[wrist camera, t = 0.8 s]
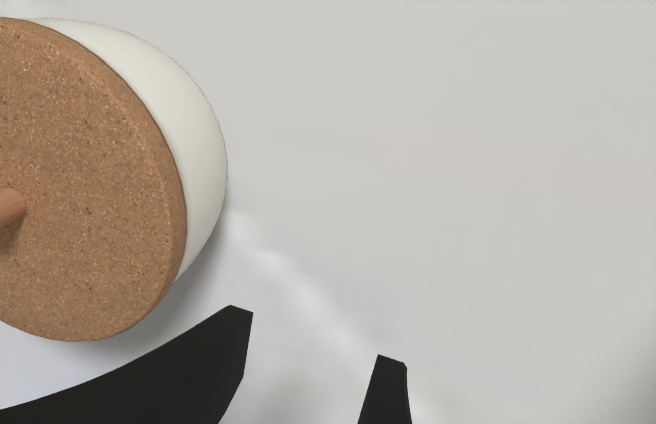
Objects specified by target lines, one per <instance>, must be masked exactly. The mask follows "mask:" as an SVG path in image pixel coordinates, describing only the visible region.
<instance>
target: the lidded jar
mask: <svg viewBox="0 0 656 424" xmlns="http://www.w3.org/2000/svg"><path fill="white" fill-rule="evenodd" d="M227 179H228V160H227V153H226V146H225V141H224V137H223V134H222V130H221V127H220V124H219V121H218V119H217V117H216V115H215V112H214V110H213V108H212V106H211V104H210V102H209V101H208V99H207V98H206V96H205V94H204V93H203V91H202V89H201V88H200V87H199V85H198V84H197V83H196V82H195V81H194V79H193V78H192V77H191V76H190V74H189V73H188V72H187V71H186V70H185V69H184V68H183V67H182V66H181V65H179V64H178V63H177V62H176V61H175V60H174V59H173V58H172V57H170V56H169V55H167V54H166V53H165V52H163V51H162V50H160V49H159V48H157V47H156V46H154V45H152V44H151V43H149V42H147V41H145V40H143V39H141V38H139V37H137V36H135V35H133V34H131V33H129V32H126V31H123V30H120V29H117V28H114V27H110V26H107V25H103V24H99V23H95V22H89V21H82V20H74V19H64V18H54V17H42V18H20V19H14V18H7V17H0V320H1V321H3V322H5V323H6V324H8V325H10V326H12V327H15V328H17V329H20V330H22V331H24V332H27V333H29V334H32V335H36V336H40V337H44V338H48V339H52V340H60V341H67V342H79V341H95V340H100V339H104V338H109V337H112V336H115V335H117V334H119V333H122V332H124V331H126V330H128V329H130V328H131V327H132V326H134V325H135V324H137V323H138V322H139V321H141V320H142V319H143V318H144V317H146V316H147V315H148V314H149V313H150V312H151V311H152V310H153V308H154V307H155V306H156V305H157V304H158V303H159V302H160V301H161V299H162V298H163V297H164V296H165V295H166V294H167V292H168V291H169V289H170V287H171V286H172V285H173V284H174V283H175V281H176V280H177V279H178V278H179V277H180V276H181V275H182V274H183V273H184V272H185V270H186V269H187V268H188V267H189V266H190V265H191V264H192V263H193V261H194V260H195V259H196V257H197V256H198V254H199V253H200V251H201V250H202V248H203V247H204V245H205V243H206V242H207V240H208V238H209V237H210V235H211V233H212V231H213V229H214V227H215V225H216V223H217V221H218V218H219V215H220V212H221V209H222V206H223V203H224V197H225V191H226V185H227Z"/></svg>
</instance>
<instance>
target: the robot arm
mask: <svg viewBox="0 0 656 424" xmlns="http://www.w3.org/2000/svg"><path fill="white" fill-rule="evenodd" d="M252 318H253V312H250V311H247V310H244V309H241V308H238V307H235V306H232V305H229V306H226V307H225V308H223V309H221V310H220V311H218V312H217V313H215V314H213V315H212V316H210V317H209V318H207V319H205V320H204V321H202V322H201V323H199V324H197V325H196V326H194V327H193V328H191V329H189V330H188V331H186V332H184V333H183V334H181V335H179V336H177V337H176V338H174V339H172V340H171V341H169V342H167V343H165V344H164V345H162V346H160V347H158V348H156V349H155V350H153V351H151V352H149V353H147V354H145V355H143V356H141V357H139V358H137V359H135V360H133V361H131V362H129V363H127V364H125V365H123V366H121V367H119V368H117V369H115V370H113V371H111V372H108V373H106V374H104V375H102V376H99V377H97V378H94V379H92V380H90V381H87V382H85V383H82V384H80V385H77V386H74V387H71V388H68V389H65V390H62V391H59V392H57V393H54V394H51V395H48V396H45V397H42V398H39V399H36V400H33V401H30V402H26V403H23V404H19V405H16V406H12V407H9V408H5V409H1V410H0V424H218V423H219V421H220V420H221V418H222V417H223V415H224V414H225V412H226V410H227V408H228V406H229V404H230V402H231V400H232V398H233V396H234V394H235V392H236V390H237V388H238V386H239V384H240V382H241V380H242V378H243V375H244V368H245V362H246V356H247V349H248V343H249V337H250V330H251V324H252ZM358 424H412V420H411V414H410V407H409V399H408V390H407V367H406V366H405V364H404V363H403V362H400V361H397V360H394V359H391V358H388V357H385V356H382V355H379V354H378V356H377V359H376V363H375V366H374V370H373V373H372V376H371V380H370V383H369V386H368V390H367V393H366V397H365V400H364V403H363V407H362V410H361V413H360V417H359V420H358Z"/></svg>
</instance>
